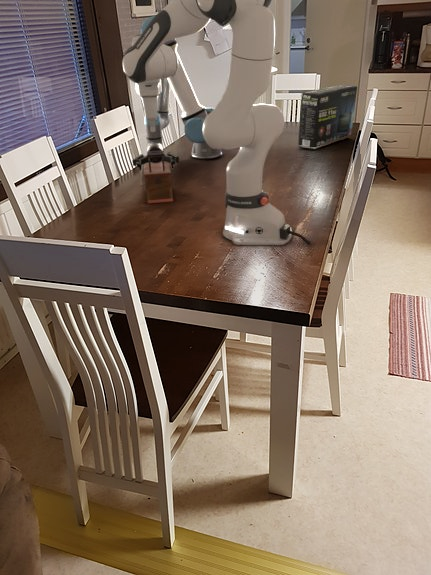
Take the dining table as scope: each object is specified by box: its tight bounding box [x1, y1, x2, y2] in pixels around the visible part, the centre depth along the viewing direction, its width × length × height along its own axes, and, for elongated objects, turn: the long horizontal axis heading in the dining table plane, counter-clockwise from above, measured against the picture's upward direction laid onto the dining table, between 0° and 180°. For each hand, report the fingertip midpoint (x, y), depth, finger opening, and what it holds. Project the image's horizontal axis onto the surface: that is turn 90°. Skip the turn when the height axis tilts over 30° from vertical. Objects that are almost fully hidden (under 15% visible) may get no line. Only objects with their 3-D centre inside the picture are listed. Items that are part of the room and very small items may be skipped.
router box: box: [297, 84, 358, 151], centre depth 238 cm, size 36×11×27 cm, turn 134°
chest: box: [144, 174, 174, 204], centre depth 180 cm, size 14×10×10 cm
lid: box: [143, 149, 172, 178], centre depth 175 cm, size 14×10×8 cm
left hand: (156, 166), depth 194 cm, fingers open, 13 cm apart
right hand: (152, 128), depth 165 cm, fingers open, 8 cm apart
